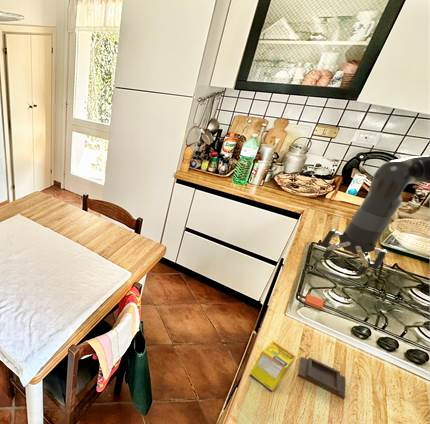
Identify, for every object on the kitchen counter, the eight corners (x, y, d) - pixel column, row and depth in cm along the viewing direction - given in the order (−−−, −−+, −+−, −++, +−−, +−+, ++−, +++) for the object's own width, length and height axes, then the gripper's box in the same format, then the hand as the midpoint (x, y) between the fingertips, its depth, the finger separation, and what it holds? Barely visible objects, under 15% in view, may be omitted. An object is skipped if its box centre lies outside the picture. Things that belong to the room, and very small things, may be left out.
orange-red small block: (319, 305, 107) (323, 299, 106) (318, 313, 104) (322, 307, 103) (303, 299, 110) (307, 293, 108) (302, 307, 107) (306, 301, 105)
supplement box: (281, 380, 84) (297, 356, 79) (271, 393, 81) (286, 368, 76) (259, 363, 89) (272, 339, 83) (248, 375, 86) (261, 350, 80)
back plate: (343, 379, 85) (347, 375, 84) (343, 399, 80) (347, 395, 79) (300, 358, 90) (302, 354, 89) (297, 375, 86) (300, 371, 84)
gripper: (405, 231, 86) (374, 275, 94) (344, 210, 97) (321, 250, 105) (395, 239, 83) (364, 284, 91) (333, 216, 93) (310, 257, 102)
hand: (341, 266), depth 98 cm, fingers open, 8 cm apart
